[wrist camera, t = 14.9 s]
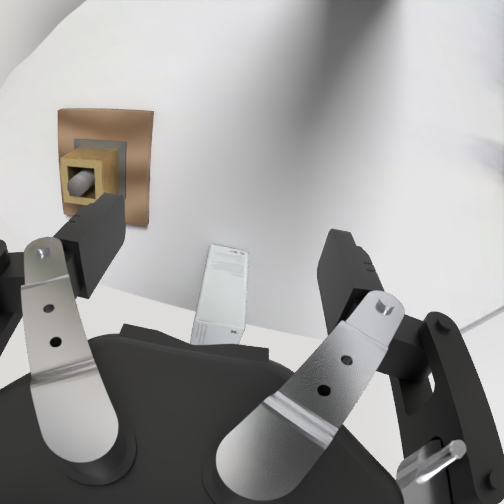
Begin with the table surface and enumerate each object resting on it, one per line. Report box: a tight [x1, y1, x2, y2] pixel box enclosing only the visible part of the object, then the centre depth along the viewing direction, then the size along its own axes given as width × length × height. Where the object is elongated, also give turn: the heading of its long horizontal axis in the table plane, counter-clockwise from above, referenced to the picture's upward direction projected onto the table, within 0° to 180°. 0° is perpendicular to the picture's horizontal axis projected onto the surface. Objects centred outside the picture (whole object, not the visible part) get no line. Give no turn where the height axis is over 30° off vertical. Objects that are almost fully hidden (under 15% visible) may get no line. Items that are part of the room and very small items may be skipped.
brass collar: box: [60, 146, 119, 205], centre depth 36 cm, size 6×6×5 cm
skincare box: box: [190, 244, 249, 345], centre depth 42 cm, size 8×6×15 cm
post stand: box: [58, 109, 154, 227], centre depth 36 cm, size 16×14×8 cm
